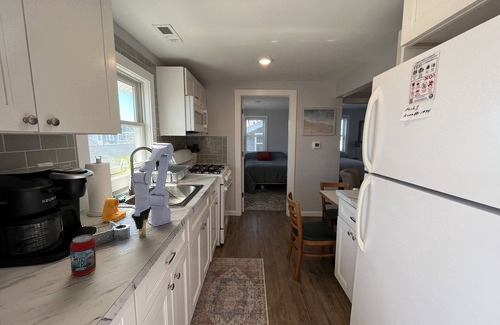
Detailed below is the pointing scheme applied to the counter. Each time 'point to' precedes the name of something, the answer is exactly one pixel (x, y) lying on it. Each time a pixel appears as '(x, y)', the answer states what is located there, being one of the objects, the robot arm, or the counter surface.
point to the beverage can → (83, 255)
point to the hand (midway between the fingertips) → (142, 225)
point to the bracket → (112, 210)
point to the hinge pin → (143, 230)
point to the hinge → (112, 233)
